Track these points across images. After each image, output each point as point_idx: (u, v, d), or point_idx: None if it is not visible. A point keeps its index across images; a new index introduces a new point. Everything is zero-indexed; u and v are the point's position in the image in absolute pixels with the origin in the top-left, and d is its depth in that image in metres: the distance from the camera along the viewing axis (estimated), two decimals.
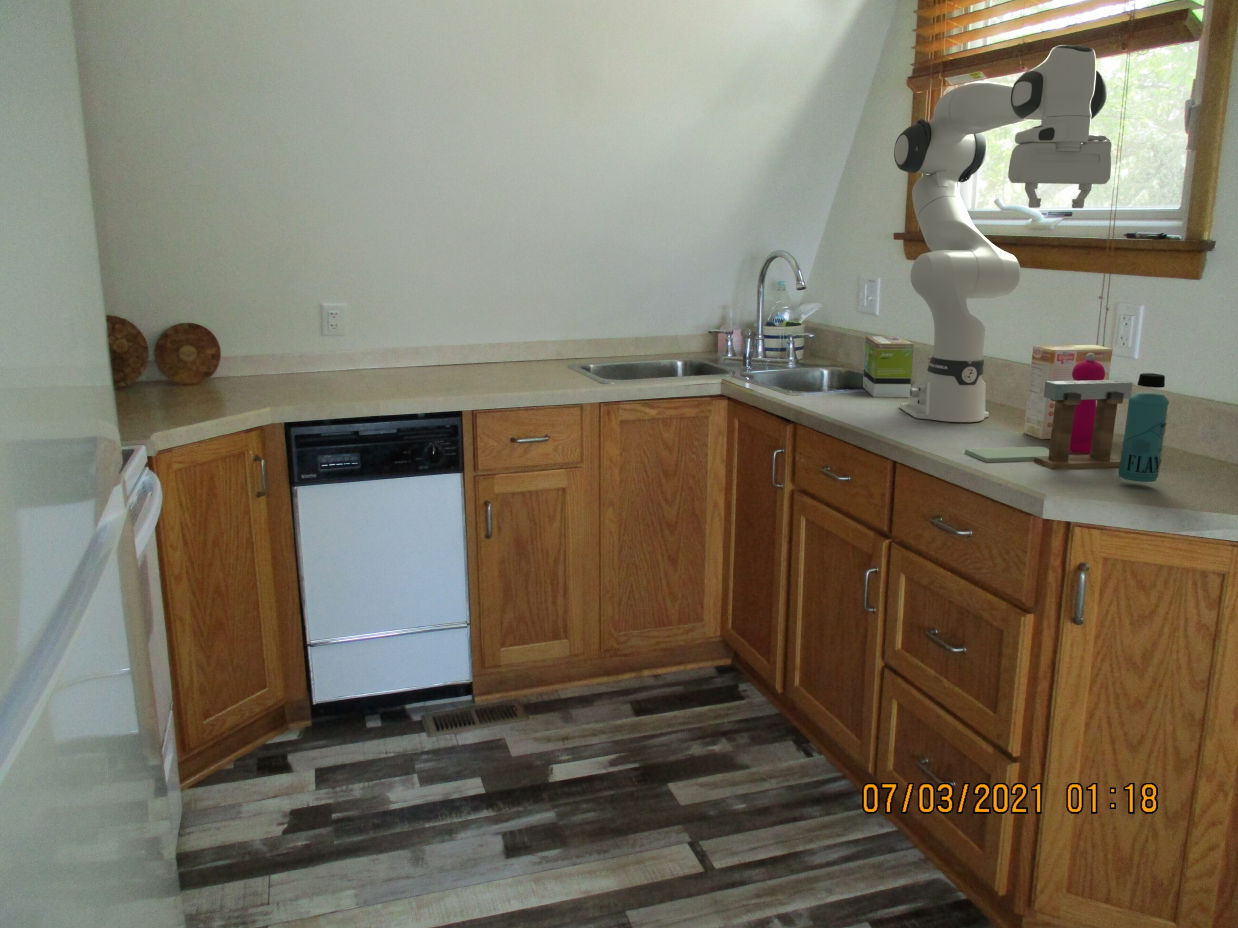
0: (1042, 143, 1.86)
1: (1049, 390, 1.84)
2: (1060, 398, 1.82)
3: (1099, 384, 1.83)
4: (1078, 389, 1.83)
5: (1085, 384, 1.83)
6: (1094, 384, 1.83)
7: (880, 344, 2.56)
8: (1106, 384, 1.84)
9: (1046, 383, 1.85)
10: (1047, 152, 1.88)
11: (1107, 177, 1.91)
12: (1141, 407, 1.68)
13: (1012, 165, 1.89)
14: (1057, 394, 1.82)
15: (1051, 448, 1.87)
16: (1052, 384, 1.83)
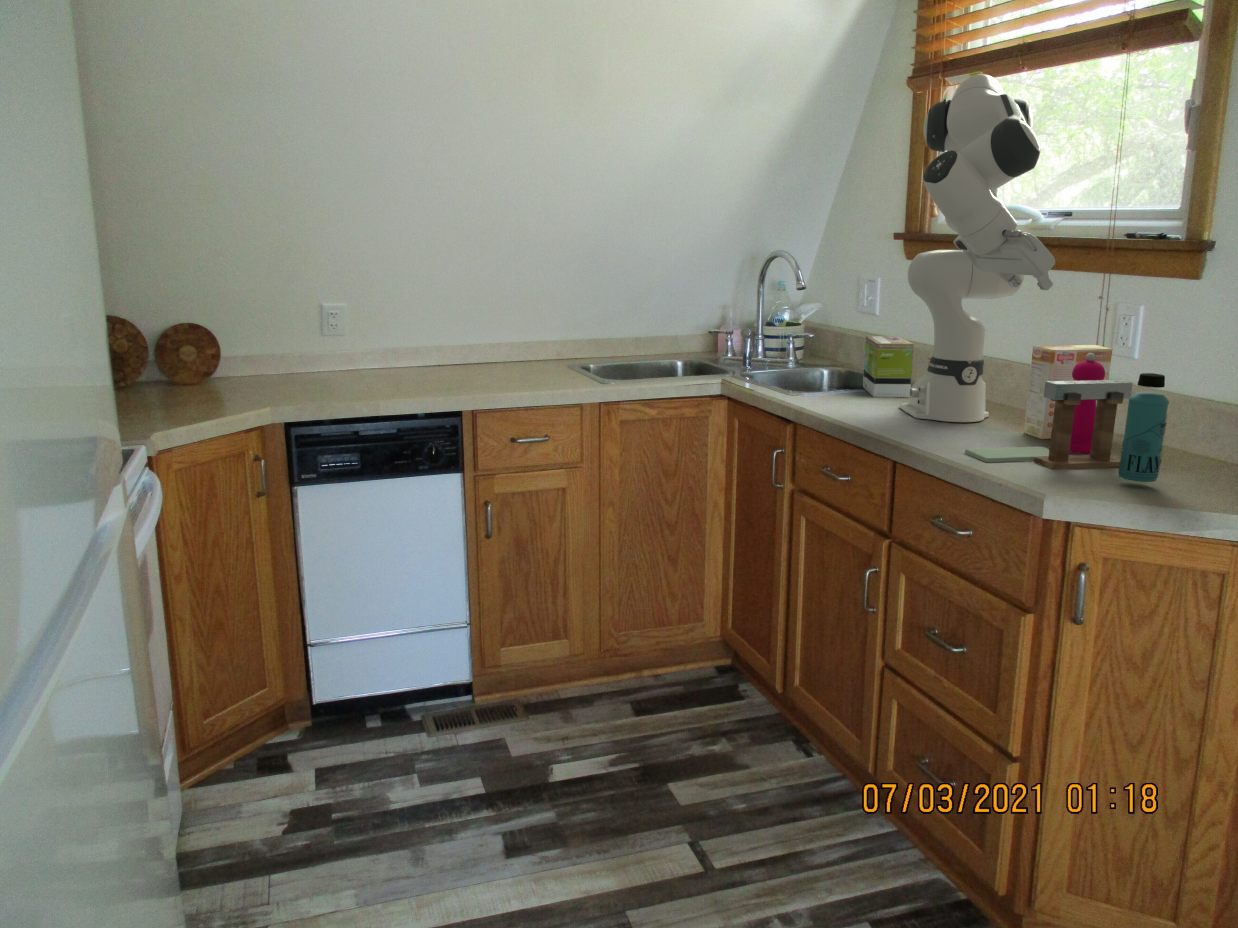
0: (967, 249, 1.83)
1: (1049, 390, 1.84)
2: (1060, 398, 1.82)
3: (1099, 384, 1.83)
4: (1078, 389, 1.83)
5: (1085, 384, 1.83)
6: (1094, 384, 1.83)
7: (880, 344, 2.56)
8: (1106, 384, 1.84)
9: (1046, 383, 1.85)
10: None
11: (1037, 272, 1.71)
12: (1141, 407, 1.68)
13: None
14: (1057, 394, 1.82)
15: (1051, 448, 1.87)
16: (1052, 384, 1.83)
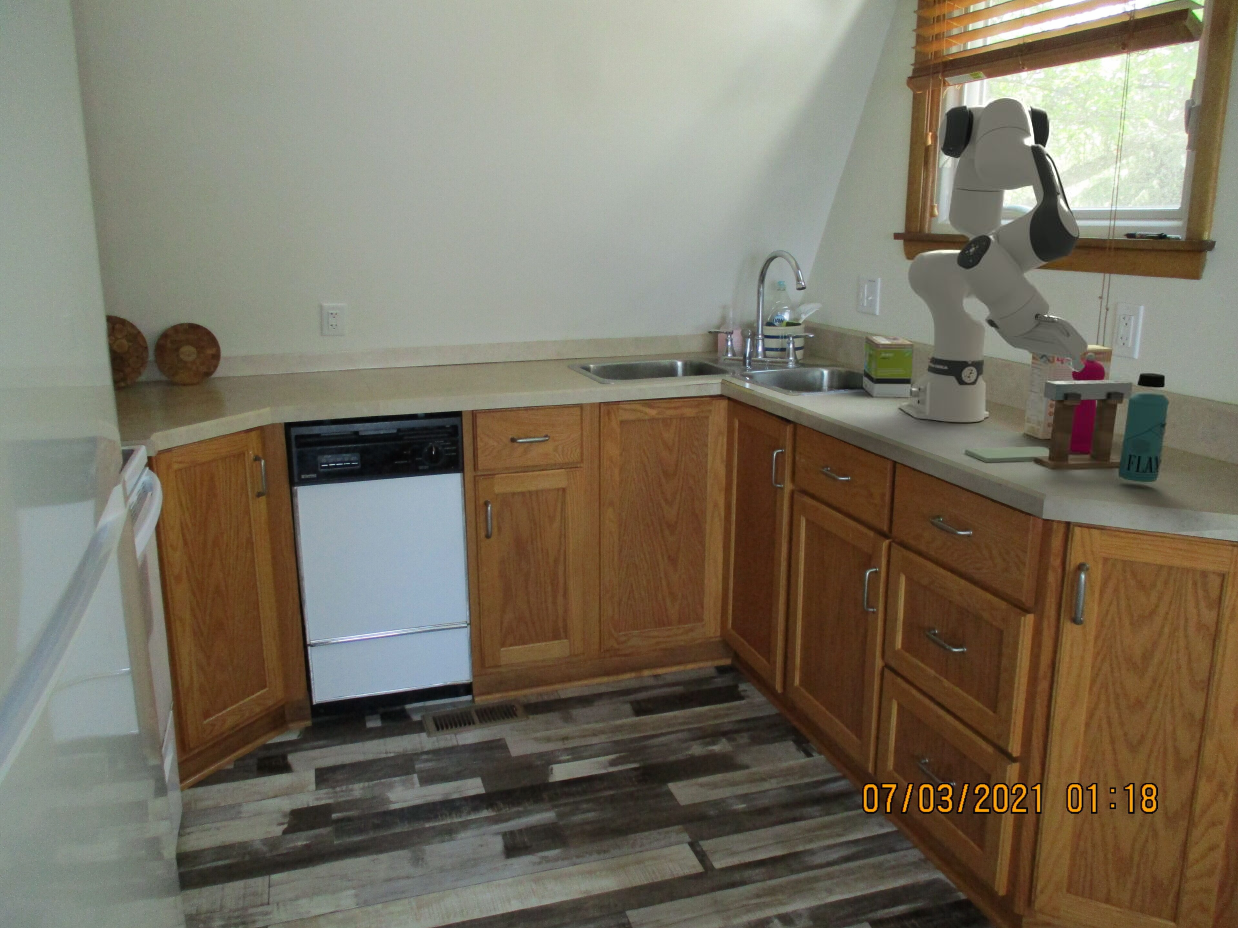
0: None
1: (1049, 390, 1.84)
2: (1060, 398, 1.82)
3: (1099, 384, 1.83)
4: (1078, 389, 1.83)
5: (1085, 384, 1.83)
6: (1094, 384, 1.83)
7: (880, 344, 2.56)
8: (1106, 384, 1.84)
9: (1046, 383, 1.85)
10: None
11: (1070, 357, 1.72)
12: (1141, 407, 1.68)
13: None
14: (1057, 394, 1.82)
15: (1051, 448, 1.87)
16: (1052, 384, 1.83)
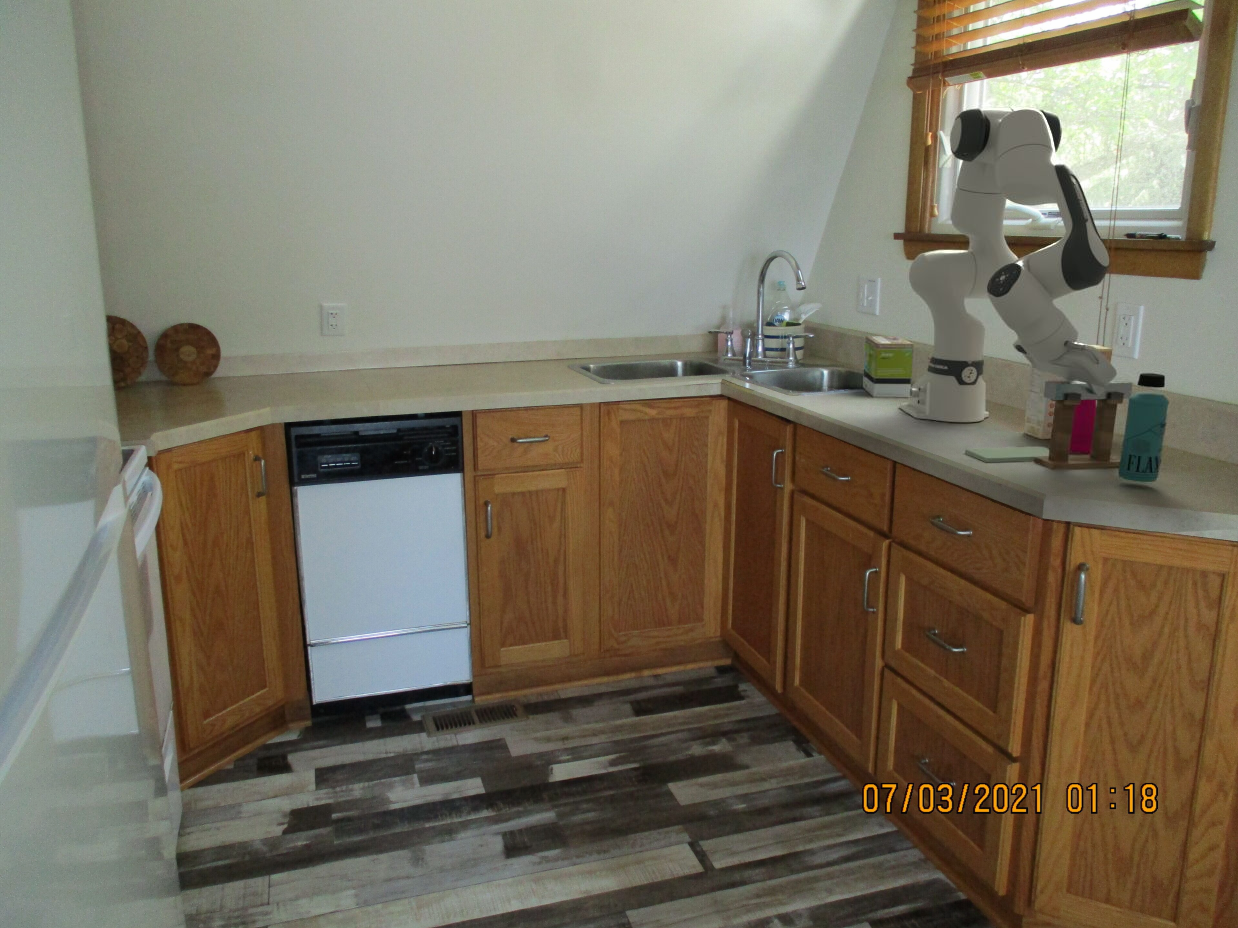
0: None
1: (1049, 390, 1.84)
2: (1060, 398, 1.82)
3: None
4: (1078, 389, 1.83)
5: (1085, 384, 1.83)
6: None
7: (880, 344, 2.56)
8: None
9: (1046, 383, 1.85)
10: None
11: (1099, 383, 1.75)
12: (1141, 407, 1.68)
13: None
14: (1057, 394, 1.82)
15: (1051, 448, 1.87)
16: (1052, 384, 1.83)
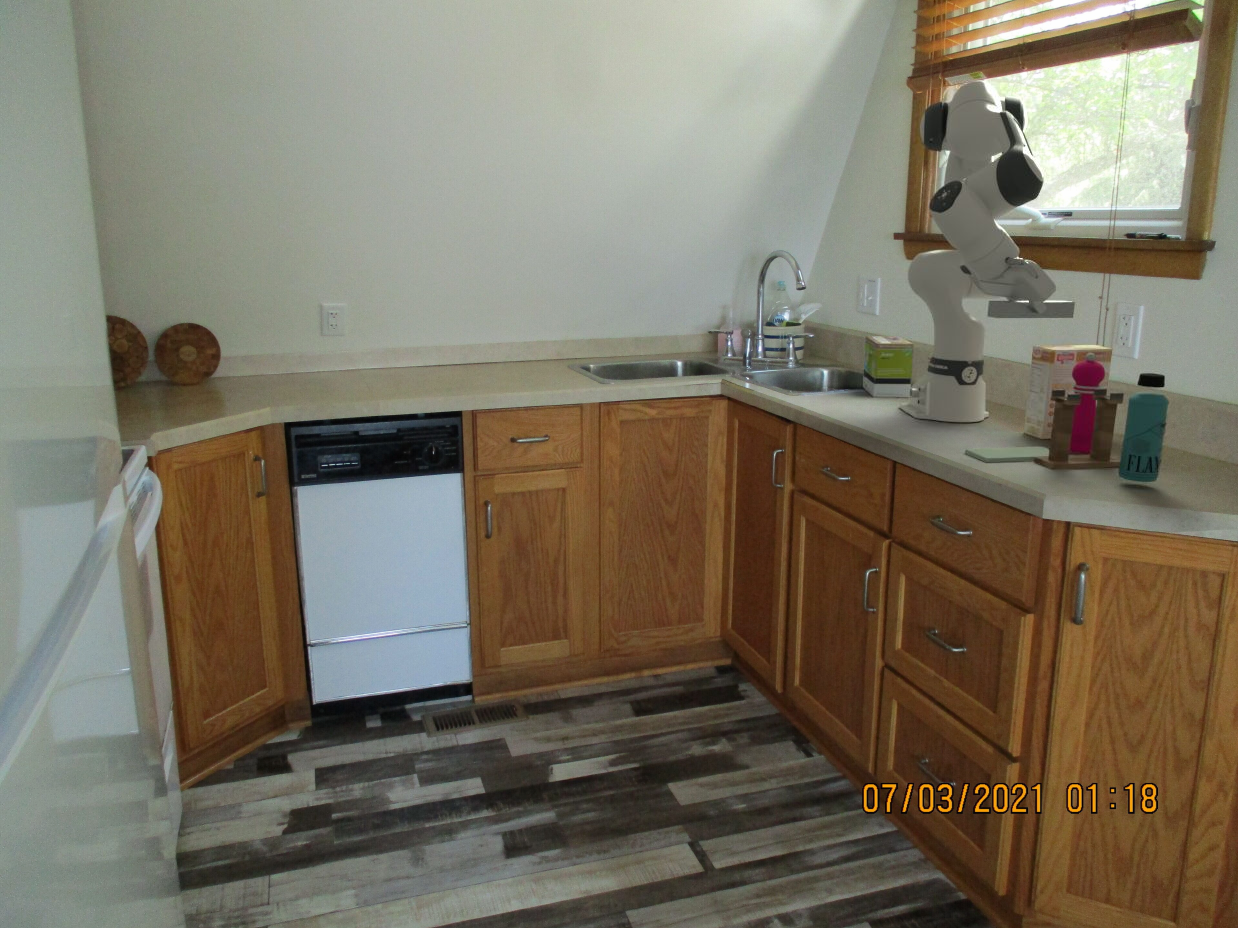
0: None
1: (992, 309, 1.86)
2: (1003, 316, 1.85)
3: None
4: (1020, 307, 1.85)
5: (1027, 303, 1.85)
6: None
7: (880, 344, 2.56)
8: (1048, 303, 1.86)
9: (989, 302, 1.87)
10: None
11: (1039, 298, 1.77)
12: (1141, 407, 1.68)
13: None
14: (999, 312, 1.85)
15: (1051, 448, 1.87)
16: (995, 303, 1.85)
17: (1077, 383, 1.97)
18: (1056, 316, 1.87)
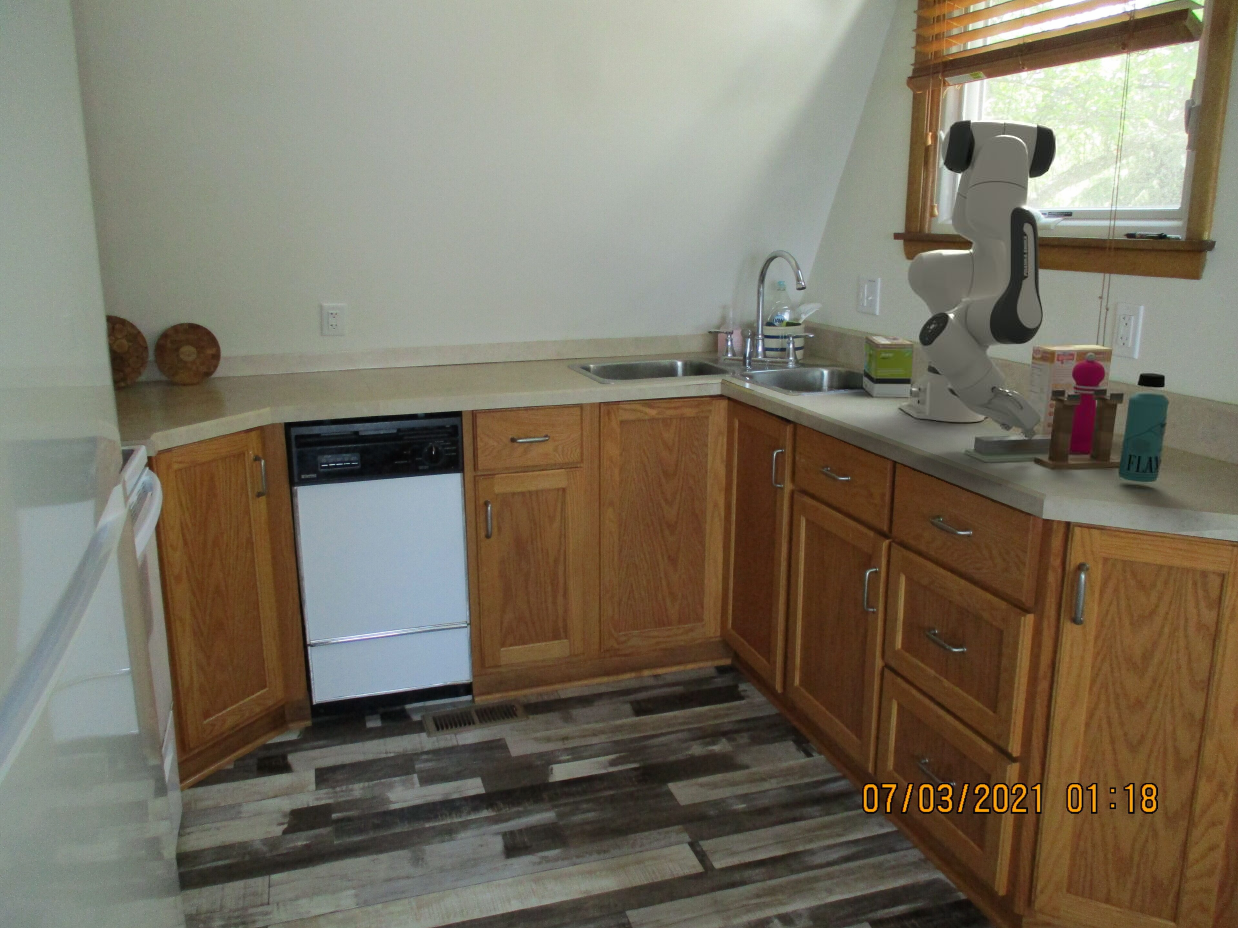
0: None
1: (978, 446, 1.93)
2: (988, 453, 1.91)
3: (1026, 440, 1.92)
4: (1005, 444, 1.92)
5: (1012, 440, 1.92)
6: (1020, 440, 1.92)
7: (880, 344, 2.56)
8: (1032, 440, 1.93)
9: (976, 439, 1.93)
10: None
11: (1024, 428, 1.83)
12: (1141, 407, 1.68)
13: None
14: (985, 450, 1.91)
15: (1051, 448, 1.87)
16: (981, 440, 1.92)
17: (1077, 383, 1.97)
18: (1040, 452, 1.94)
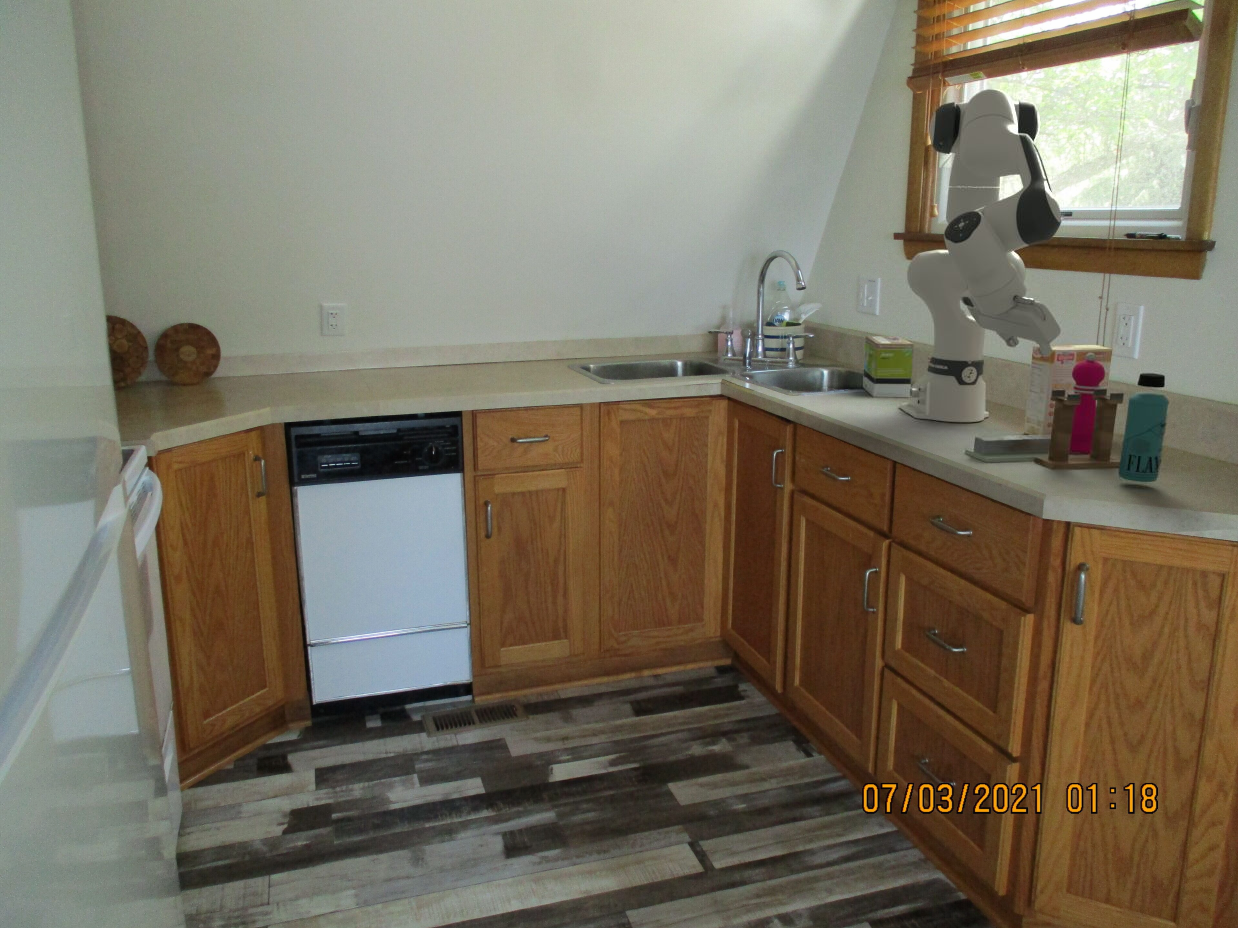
0: None
1: (978, 446, 1.93)
2: (988, 453, 1.91)
3: (1026, 440, 1.92)
4: (1005, 444, 1.92)
5: (1012, 440, 1.92)
6: (1021, 440, 1.92)
7: (880, 344, 2.56)
8: (1032, 440, 1.93)
9: (976, 439, 1.93)
10: None
11: (1043, 341, 1.75)
12: (1141, 407, 1.68)
13: None
14: (985, 450, 1.91)
15: (1051, 448, 1.87)
16: (981, 440, 1.92)
17: (1077, 383, 1.97)
18: (1040, 452, 1.94)
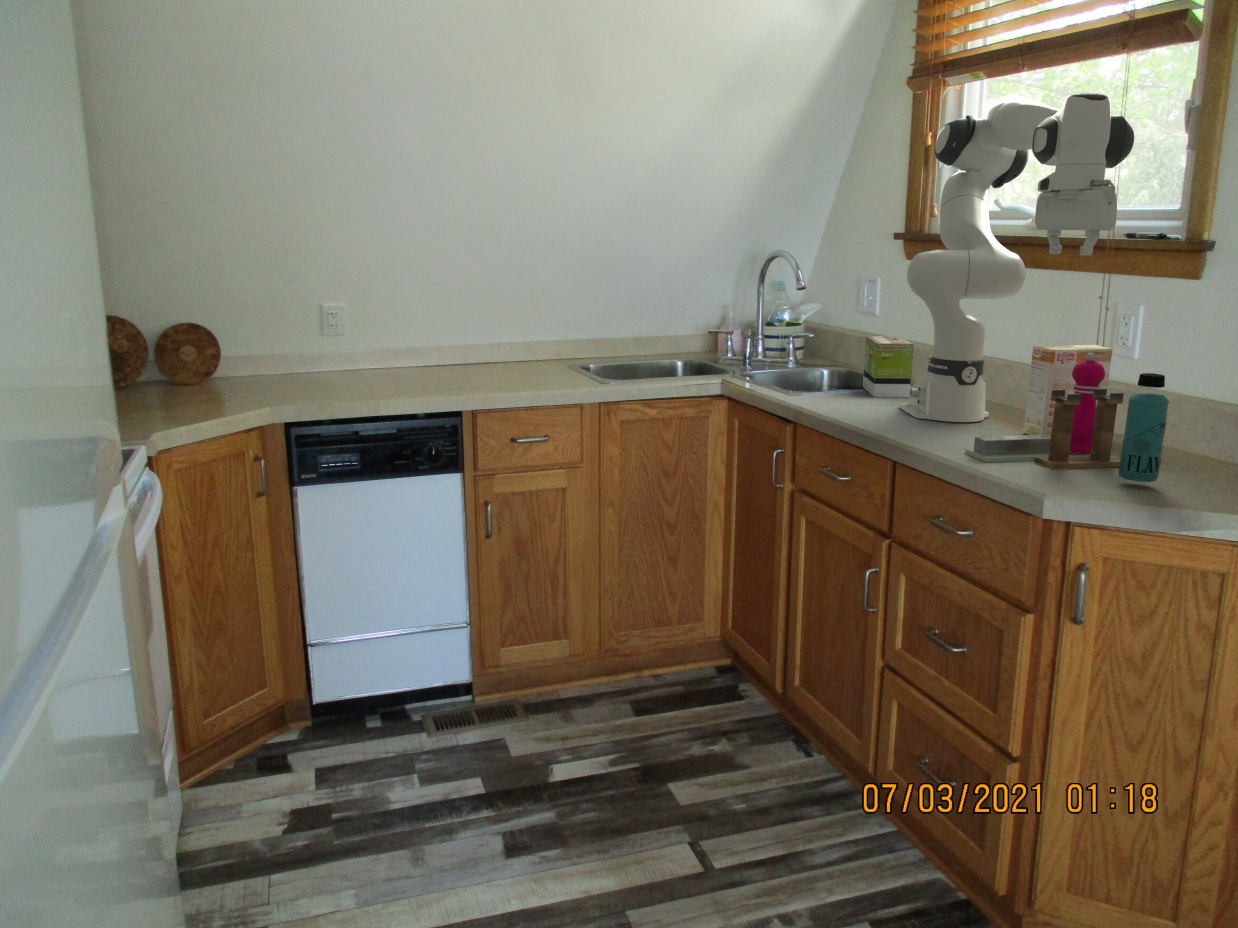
0: (1045, 192, 1.95)
1: (978, 446, 1.93)
2: (988, 453, 1.91)
3: (1026, 440, 1.92)
4: (1005, 444, 1.92)
5: (1012, 440, 1.92)
6: (1021, 440, 1.92)
7: (880, 344, 2.56)
8: (1032, 440, 1.93)
9: (976, 439, 1.93)
10: (1054, 200, 1.93)
11: (1096, 224, 1.81)
12: (1141, 407, 1.68)
13: None
14: (985, 450, 1.91)
15: (1051, 448, 1.87)
16: (981, 440, 1.92)
17: (1077, 383, 1.97)
18: (1040, 452, 1.94)
